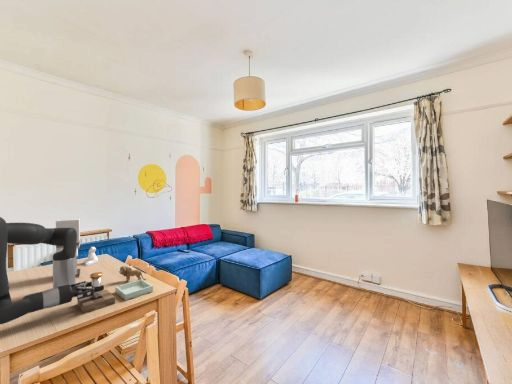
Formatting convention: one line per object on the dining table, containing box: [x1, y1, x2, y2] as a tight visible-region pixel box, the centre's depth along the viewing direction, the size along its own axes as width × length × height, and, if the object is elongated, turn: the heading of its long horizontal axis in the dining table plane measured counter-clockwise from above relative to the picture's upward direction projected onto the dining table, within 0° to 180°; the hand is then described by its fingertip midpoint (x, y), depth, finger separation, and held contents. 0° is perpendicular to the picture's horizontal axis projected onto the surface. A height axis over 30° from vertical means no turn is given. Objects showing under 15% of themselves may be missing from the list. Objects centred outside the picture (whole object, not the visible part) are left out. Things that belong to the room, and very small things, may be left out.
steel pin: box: [89, 271, 103, 301], centre depth 111 cm, size 5×5×14 cm
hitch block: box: [77, 289, 116, 314], centre depth 111 cm, size 12×12×3 cm
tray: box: [114, 278, 154, 301], centre depth 123 cm, size 14×14×3 cm
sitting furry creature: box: [82, 246, 99, 267], centre depth 169 cm, size 10×9×12 cm
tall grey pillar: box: [55, 217, 81, 279], centre depth 144 cm, size 11×11×35 cm
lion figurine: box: [119, 265, 147, 283], centre depth 138 cm, size 15×5×9 cm, turn 95°
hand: (100, 284), depth 112 cm, fingers open, 8 cm apart
